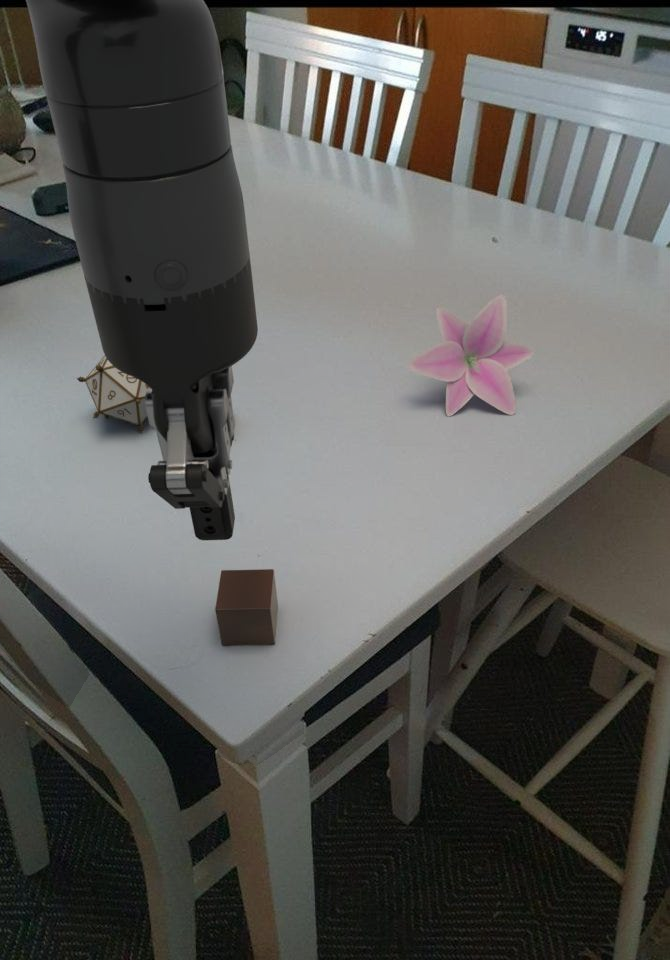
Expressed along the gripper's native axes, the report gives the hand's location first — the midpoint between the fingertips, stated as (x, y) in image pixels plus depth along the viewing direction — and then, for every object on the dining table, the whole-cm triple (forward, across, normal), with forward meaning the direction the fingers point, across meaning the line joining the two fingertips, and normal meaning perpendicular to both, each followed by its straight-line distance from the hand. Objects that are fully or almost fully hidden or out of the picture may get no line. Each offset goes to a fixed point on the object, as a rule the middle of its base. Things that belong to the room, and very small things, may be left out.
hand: (216, 531), depth 48 cm
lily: (+16, -36, +20) cm, 45 cm away
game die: (+16, -34, -14) cm, 40 cm away
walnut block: (+15, -6, 0) cm, 16 cm away
